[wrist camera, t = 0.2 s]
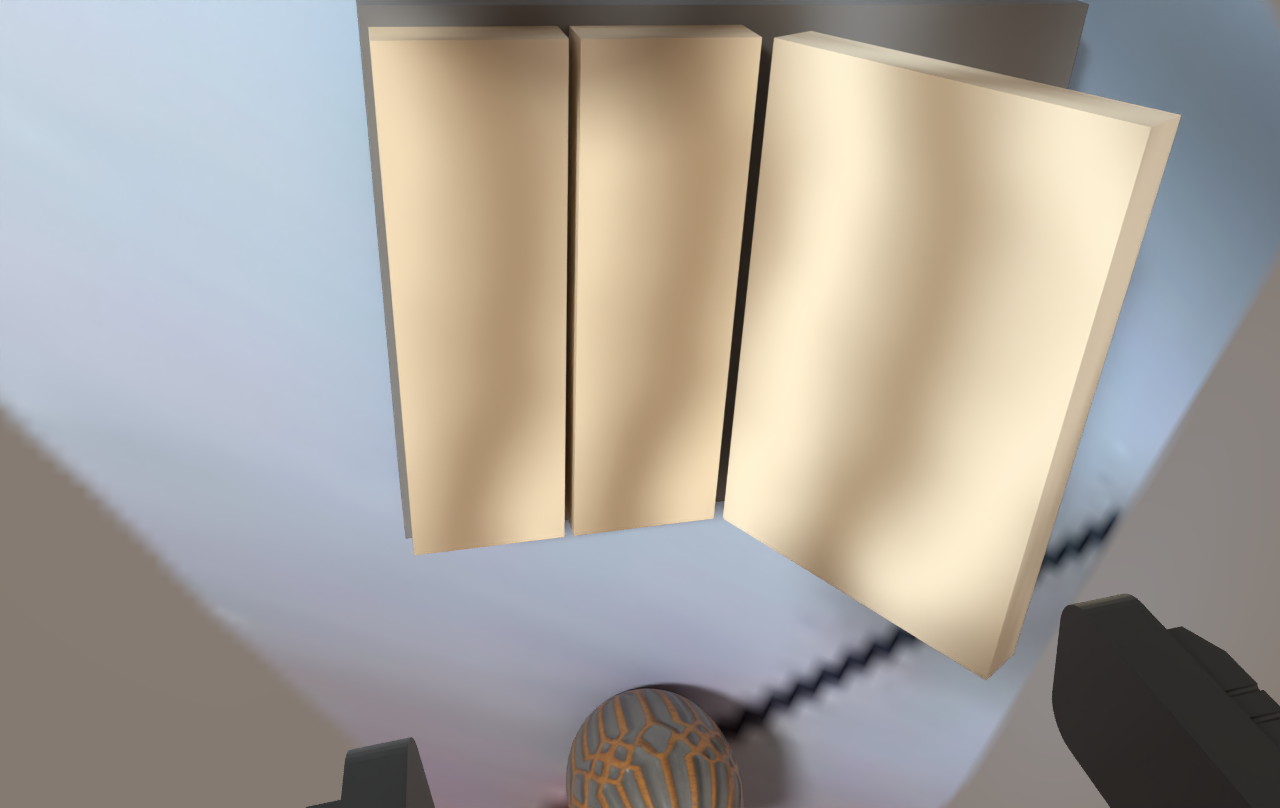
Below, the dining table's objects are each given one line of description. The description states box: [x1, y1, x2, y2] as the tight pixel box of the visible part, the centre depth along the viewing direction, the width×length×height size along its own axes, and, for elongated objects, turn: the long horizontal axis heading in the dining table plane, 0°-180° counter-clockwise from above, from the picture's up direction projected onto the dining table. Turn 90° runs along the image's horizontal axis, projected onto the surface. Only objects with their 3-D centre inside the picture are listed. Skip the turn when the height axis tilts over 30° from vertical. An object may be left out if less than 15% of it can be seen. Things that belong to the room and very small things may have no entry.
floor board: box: [356, 0, 1089, 555], centre depth 32 cm, size 20×16×4 cm
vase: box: [566, 688, 744, 808], centre depth 41 cm, size 7×7×9 cm
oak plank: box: [723, 31, 1181, 680], centre depth 28 cm, size 10×15×2 cm
